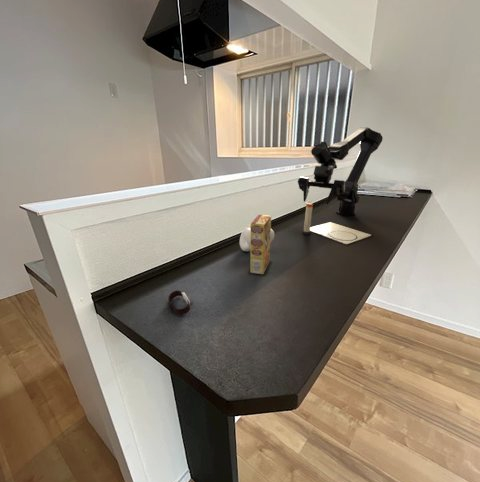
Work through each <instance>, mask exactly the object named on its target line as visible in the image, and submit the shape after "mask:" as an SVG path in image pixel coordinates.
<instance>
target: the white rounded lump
mask: <svg viewBox="0 0 480 482" xmlns="http://www.w3.org/2000/svg"><path fill="white" fill-rule="evenodd" d="M274 239H275V231H274V230H273V229H272V228H271V233H270V244H272V242H273V241H274ZM239 247H240V249H241V250H242V251H243V252H245V253H248V252H251V223H249V224H247V225H246V226H245V227H244V228H243V230H242V231H241V233H240V236H239Z"/></svg>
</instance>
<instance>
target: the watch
mask: <svg viewBox="0 0 480 482" xmlns="http://www.w3.org/2000/svg"><path fill="white" fill-rule="evenodd" d="M177 297H182V298H183V299H184V302H186V304H187V306H185V307H183V308H176V307H174V306H173V304H172V301H173V300H174V299H175V298H177ZM167 302H168V305H169V307H170V309H171V311H173V312H174V313H175V314H178V315H185V314H187V313H189V312H190V310H191V301H190V298H189V297H188V296H187V293H185V291H183V292H182V291H181V290H174V291H172V292H171V293H170V294H169V295H168V298H167Z"/></svg>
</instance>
